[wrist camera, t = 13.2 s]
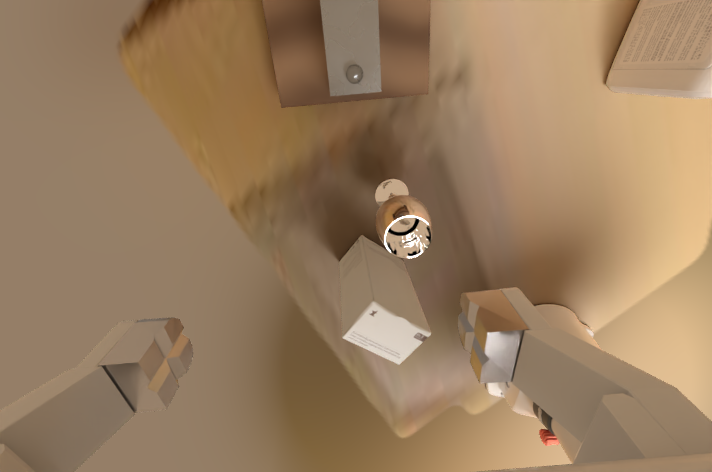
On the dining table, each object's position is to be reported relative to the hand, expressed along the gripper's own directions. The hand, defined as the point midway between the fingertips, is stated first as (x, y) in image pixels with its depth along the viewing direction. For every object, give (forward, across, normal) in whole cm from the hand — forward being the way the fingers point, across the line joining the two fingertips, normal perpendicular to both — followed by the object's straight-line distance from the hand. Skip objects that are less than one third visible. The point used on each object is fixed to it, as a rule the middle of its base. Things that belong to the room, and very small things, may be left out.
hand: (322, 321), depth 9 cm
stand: (+31, -2, -10) cm, 33 cm away
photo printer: (+31, -33, -7) cm, 46 cm away
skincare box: (+31, -3, +18) cm, 36 cm away
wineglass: (+31, -6, +8) cm, 33 cm away
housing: (+27, -2, -10) cm, 29 cm away
